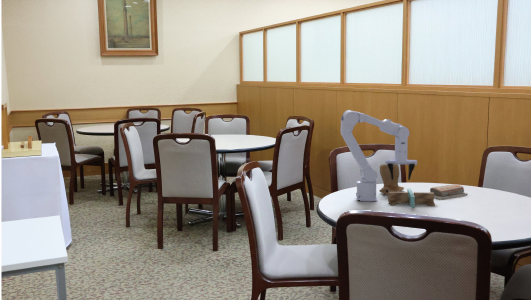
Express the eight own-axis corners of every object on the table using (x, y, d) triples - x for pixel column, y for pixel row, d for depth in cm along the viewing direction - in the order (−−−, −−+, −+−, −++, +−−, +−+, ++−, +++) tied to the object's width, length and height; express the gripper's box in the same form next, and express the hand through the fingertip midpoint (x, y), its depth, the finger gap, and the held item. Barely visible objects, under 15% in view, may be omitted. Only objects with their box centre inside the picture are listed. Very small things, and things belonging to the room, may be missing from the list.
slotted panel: (414, 207, 209) (414, 196, 208) (410, 207, 209) (411, 196, 209) (410, 198, 225) (410, 188, 224) (407, 198, 225) (407, 188, 224)
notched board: (388, 204, 215) (389, 194, 214) (387, 200, 223) (388, 190, 222) (434, 205, 211) (435, 195, 210) (432, 201, 219) (432, 190, 218)
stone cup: (384, 188, 247) (384, 160, 245) (406, 190, 240) (407, 162, 238) (373, 194, 235) (373, 164, 233) (396, 197, 228) (396, 166, 226)
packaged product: (452, 182, 237) (468, 186, 228) (451, 191, 238) (467, 196, 229) (424, 186, 230) (440, 190, 221) (424, 196, 231) (439, 200, 222)
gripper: (416, 150, 225) (415, 177, 226) (384, 149, 227) (384, 177, 229) (417, 152, 218) (417, 180, 220) (385, 152, 220) (385, 180, 222)
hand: (400, 179), depth 224 cm, fingers open, 7 cm apart
